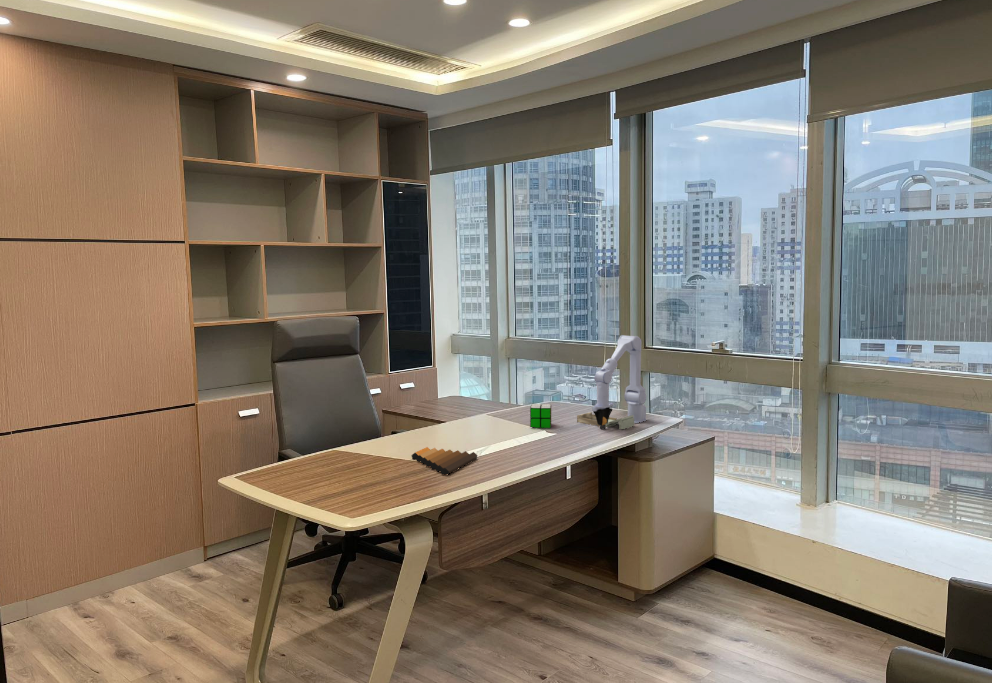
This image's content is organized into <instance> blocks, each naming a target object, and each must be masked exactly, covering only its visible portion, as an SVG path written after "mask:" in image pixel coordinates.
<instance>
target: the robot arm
mask: <svg viewBox="0 0 992 683" xmlns="http://www.w3.org/2000/svg"><path fill="white" fill-rule="evenodd" d="M625 352H627V353H629V385H627V386H626V387H625V392H624V400H625V402H626V404H627V417H628V416H631V415H633V416H634V417H633V418H634V424H640V423H643V421H644V422H647V421H648V419H647V407H646V405H645V402H646V400H647V393H646V388H645V387H643V385H641V382H642V381H641V378H642V377H641V375H642V373H641V372H642V371H641V370H642V369H641V368H642V367H641V366H642V339H641V338H640V337H639V336H638V335H625V334H621V335H620V336H619V337H618V339H617V346H616V348H615V350H614V352H613V353H612V355H611V358H607V359H606V361H605V362H604V364H603V365H602V366H601V369H600V370H598V371H596V372H595V374H594V376H593V378H594V381H595V385H596V404H595V403H594V406H592V407H591V412H592V413H593V414H594V415H595V416H596V419H597V423H598V425H602V422H603V417H605V418H606V419H607V423H608V419H609V417H611V413H612V412H613V407H614V402H610V383H611V382H612V379H613V373H614V372H615V370H616V369H617V367H618V364H619V363H618V361H619V360H620V359H621V358H622V356H623V355H624V354H625ZM646 420H647V421H646ZM639 422H640V423H639ZM607 423H606V424H607Z"/></svg>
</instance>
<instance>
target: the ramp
mask: <svg viewBox="0 0 992 683" xmlns="http://www.w3.org/2000/svg"><path fill="white" fill-rule="evenodd" d="M633 417H634V416H633V415H631V416H628V415H627V416H624V417H621V418H620V417H619V418H617V420H610V419H608V423H607V424H605V425H606V428H609V426H610V427H614V426H616V424H617V425H618V427H619V428H618V429H619V430H620V429H624V430H626V429H625V428H627V429H630V428H629V427H631V428H633V427H632V426H634V427H635V423H634V418H633Z"/></svg>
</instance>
